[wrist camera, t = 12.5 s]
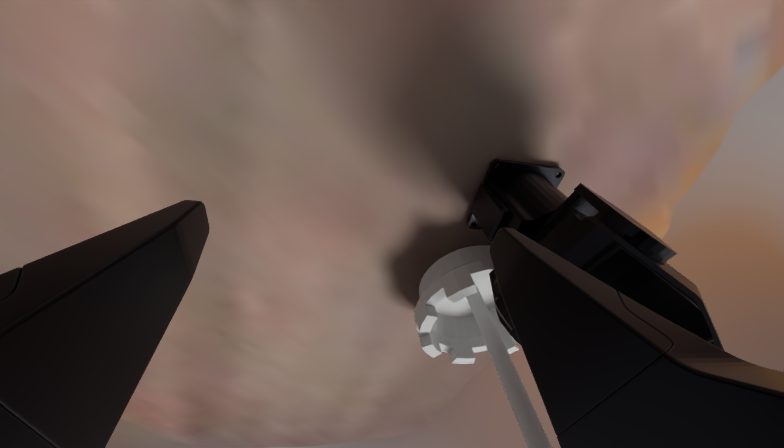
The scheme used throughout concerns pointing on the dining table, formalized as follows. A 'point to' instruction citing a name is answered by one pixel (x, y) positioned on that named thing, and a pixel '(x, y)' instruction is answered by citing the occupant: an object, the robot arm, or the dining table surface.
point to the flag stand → (472, 327)
